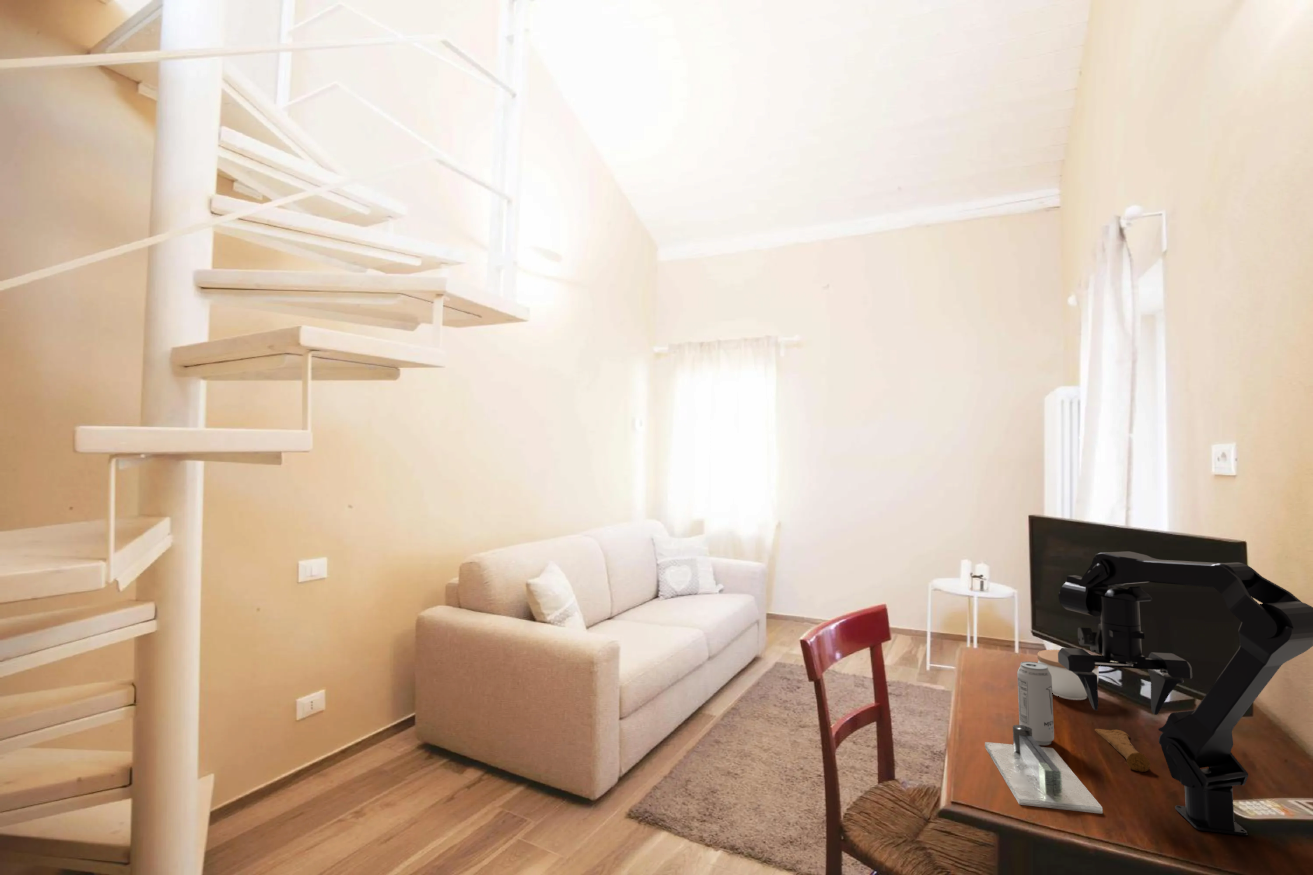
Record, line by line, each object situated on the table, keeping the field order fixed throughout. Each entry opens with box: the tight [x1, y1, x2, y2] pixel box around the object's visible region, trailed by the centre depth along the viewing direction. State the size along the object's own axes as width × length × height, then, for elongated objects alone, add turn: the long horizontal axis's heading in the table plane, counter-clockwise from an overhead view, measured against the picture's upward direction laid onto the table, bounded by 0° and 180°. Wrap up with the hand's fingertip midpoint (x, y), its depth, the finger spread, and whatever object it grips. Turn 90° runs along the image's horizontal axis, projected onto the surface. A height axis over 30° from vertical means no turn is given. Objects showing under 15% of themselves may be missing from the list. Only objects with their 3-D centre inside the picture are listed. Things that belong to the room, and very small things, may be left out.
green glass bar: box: [1026, 735, 1062, 793], centre depth 112 cm, size 14×1×4 cm, turn 166°
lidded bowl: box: [1037, 649, 1100, 701], centre depth 153 cm, size 13×13×11 cm
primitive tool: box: [1094, 728, 1152, 773], centre depth 123 cm, size 19×6×4 cm, turn 161°
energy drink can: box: [1016, 661, 1055, 746], centre depth 128 cm, size 6×6×15 cm
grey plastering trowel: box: [984, 724, 1103, 814], centre depth 113 cm, size 22×12×5 cm, turn 166°
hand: (1124, 711), depth 112 cm, fingers open, 9 cm apart
